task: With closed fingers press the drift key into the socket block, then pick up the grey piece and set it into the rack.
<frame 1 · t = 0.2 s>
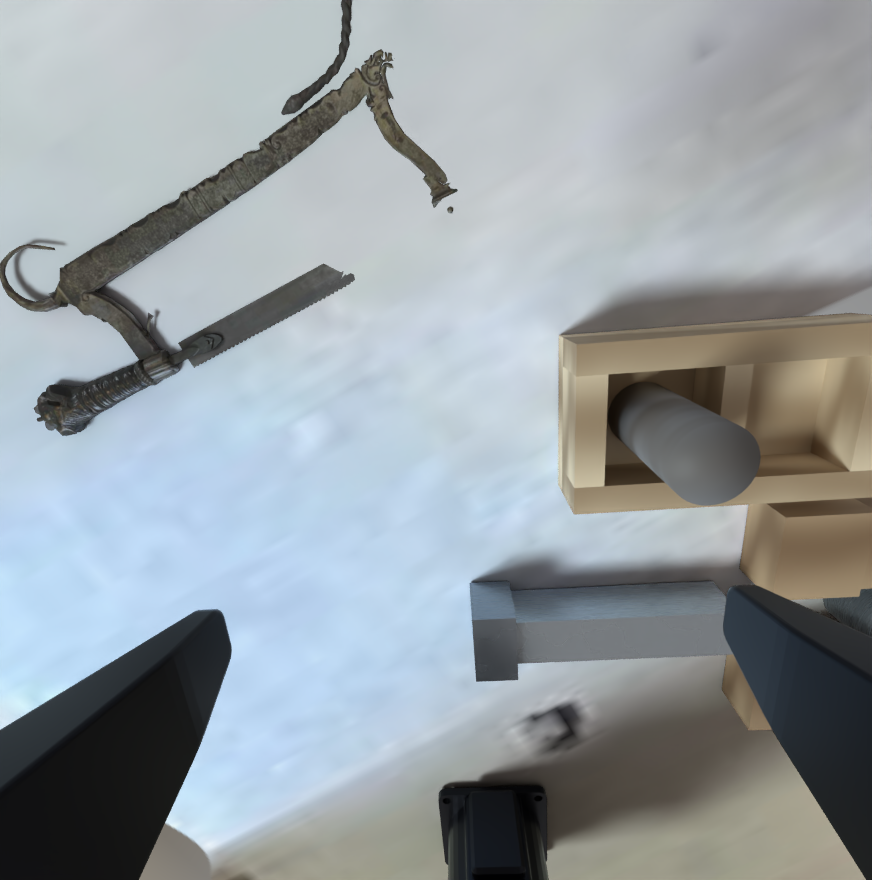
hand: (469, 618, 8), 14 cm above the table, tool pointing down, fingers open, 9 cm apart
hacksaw: (216, 212, 20), on the table
socket block: (856, 593, 24), on the table
drift key: (597, 625, 23), point 1 cm above the table, slide at 0.0 cm
rack: (694, 404, 21), on the table
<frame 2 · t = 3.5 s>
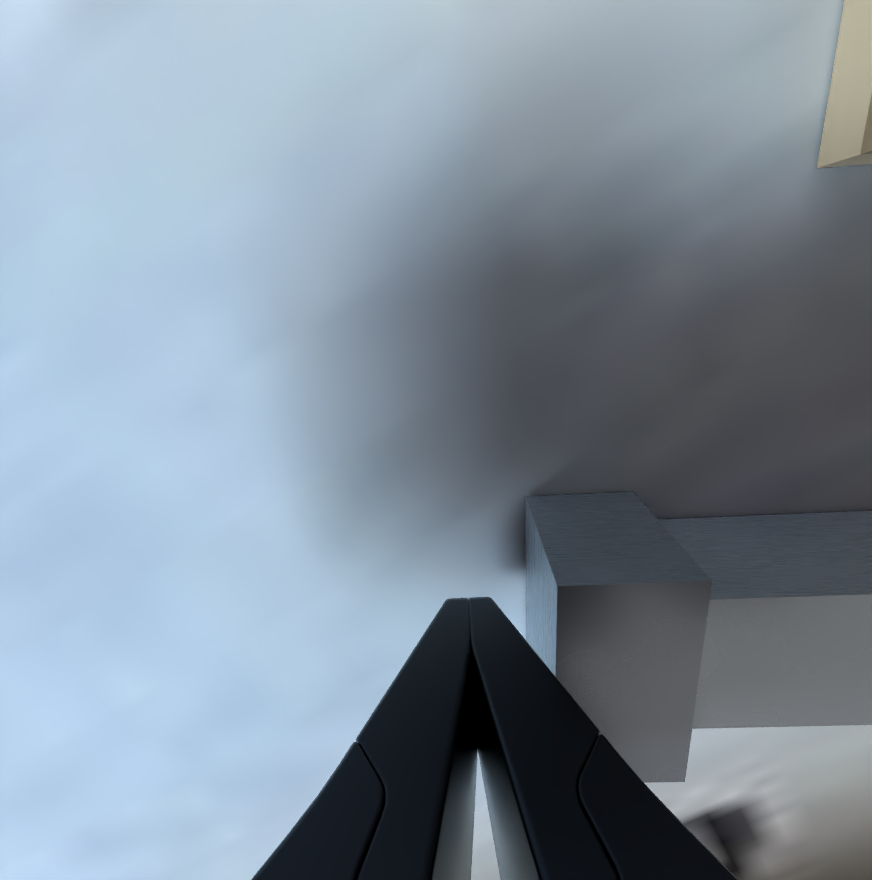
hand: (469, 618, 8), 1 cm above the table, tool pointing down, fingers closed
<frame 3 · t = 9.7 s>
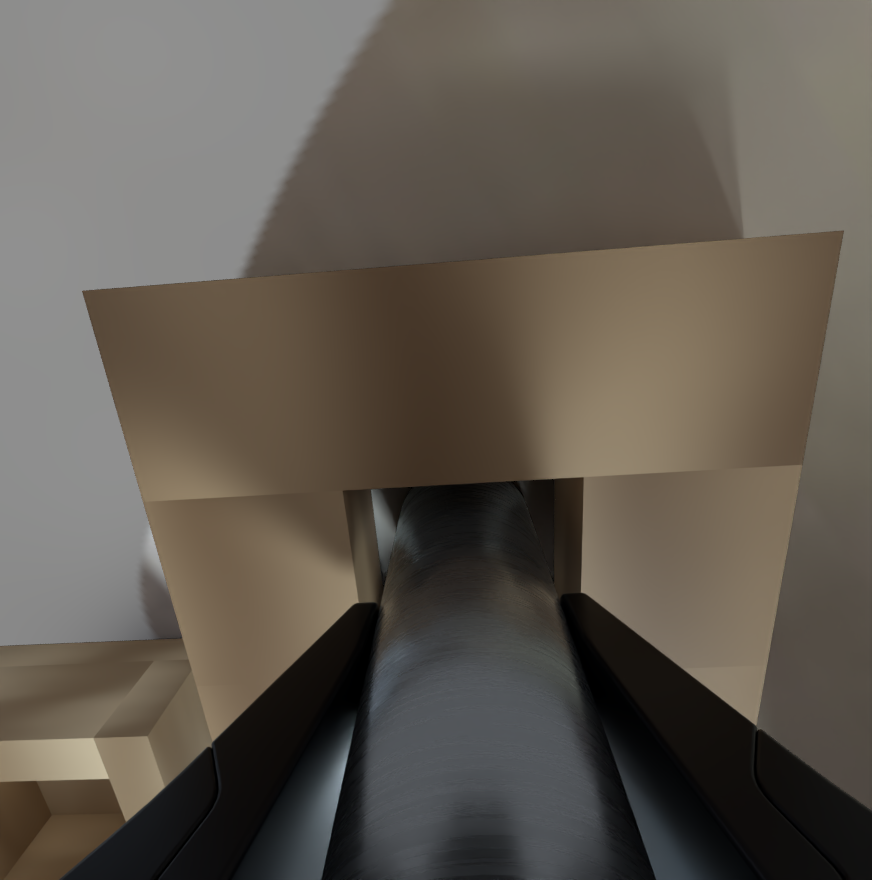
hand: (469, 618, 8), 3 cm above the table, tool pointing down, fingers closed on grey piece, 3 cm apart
socket block: (464, 525, 12), on the table
grey piece: (473, 689, 7), in the socket block, touching gripper
rack: (146, 797, 15), on the table
when the fingers open (5 cm above the table, at t = 12.9 s): grey piece drops 1 cm, resting on rack.
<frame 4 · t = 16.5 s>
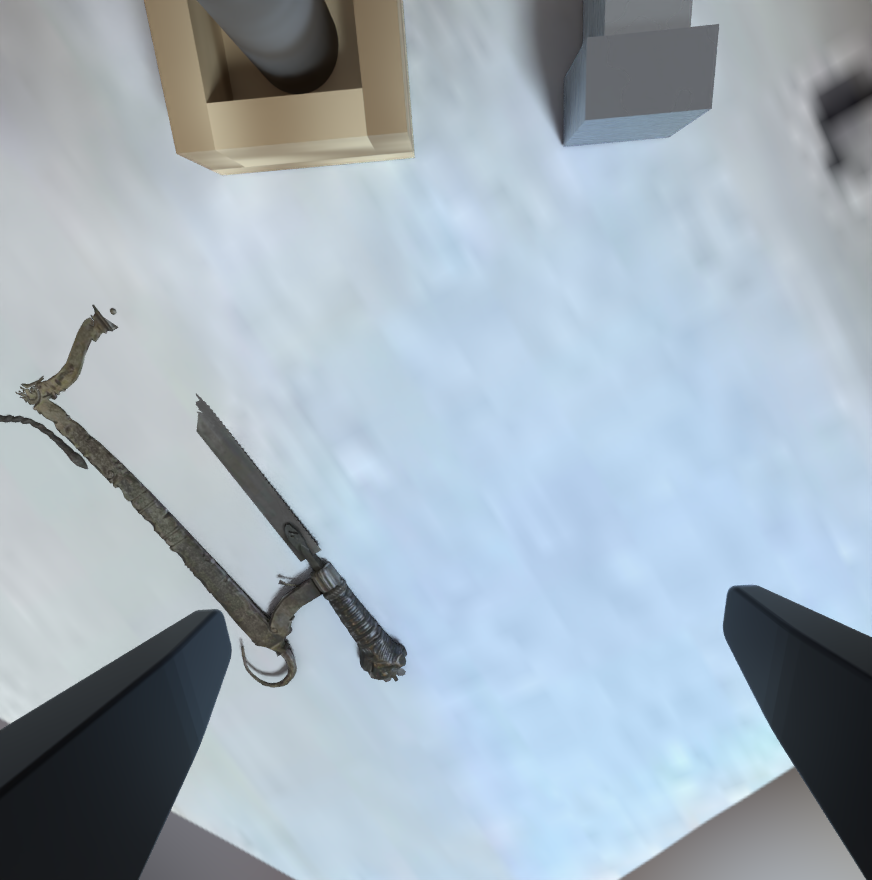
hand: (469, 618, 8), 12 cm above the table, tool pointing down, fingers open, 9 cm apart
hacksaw: (188, 522, 22), on the table
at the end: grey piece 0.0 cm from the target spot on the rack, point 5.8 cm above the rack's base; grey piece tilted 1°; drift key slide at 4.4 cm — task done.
